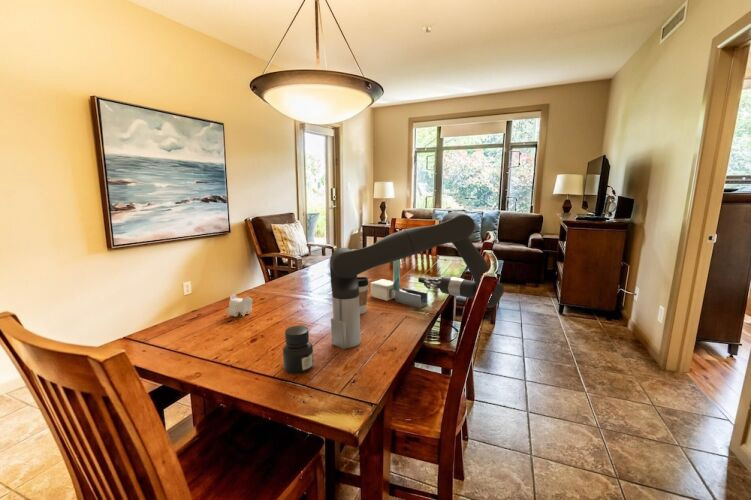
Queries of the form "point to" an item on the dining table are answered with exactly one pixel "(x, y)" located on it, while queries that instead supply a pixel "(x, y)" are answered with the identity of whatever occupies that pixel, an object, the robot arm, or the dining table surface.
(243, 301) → the elephant figurine
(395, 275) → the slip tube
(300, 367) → the ink bottle
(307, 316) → the dining table surface
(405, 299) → the sleeve
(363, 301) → the coffee cup
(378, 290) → the socket
